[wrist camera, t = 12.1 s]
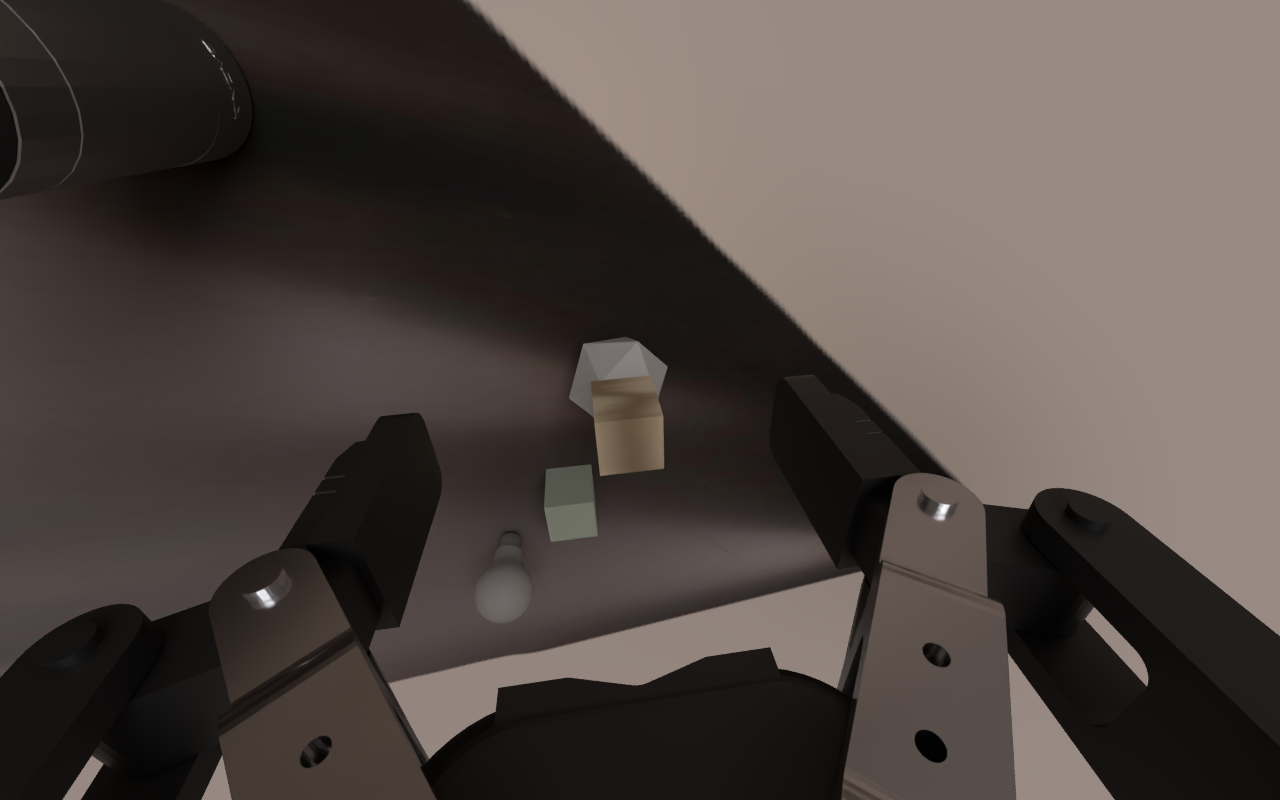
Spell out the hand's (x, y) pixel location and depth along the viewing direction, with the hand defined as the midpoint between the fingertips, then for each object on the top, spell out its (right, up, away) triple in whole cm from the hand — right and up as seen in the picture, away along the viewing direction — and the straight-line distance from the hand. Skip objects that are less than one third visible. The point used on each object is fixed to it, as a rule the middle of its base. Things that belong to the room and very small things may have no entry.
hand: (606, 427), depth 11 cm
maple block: (-1, 0, +30) cm, 30 cm away
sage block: (-7, -9, +44) cm, 46 cm away
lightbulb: (-15, -16, +47) cm, 52 cm away
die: (-2, +4, +37) cm, 37 cm away
